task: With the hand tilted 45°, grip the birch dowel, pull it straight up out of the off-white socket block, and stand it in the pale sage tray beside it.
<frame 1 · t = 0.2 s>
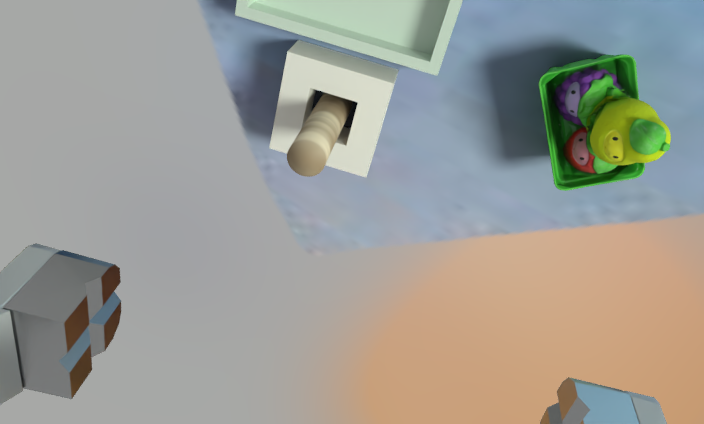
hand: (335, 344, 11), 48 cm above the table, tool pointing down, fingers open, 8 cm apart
dowel: (322, 127, 54), in the socket block
fruit basket: (590, 104, 56), on the table
socket block: (336, 102, 60), on the table
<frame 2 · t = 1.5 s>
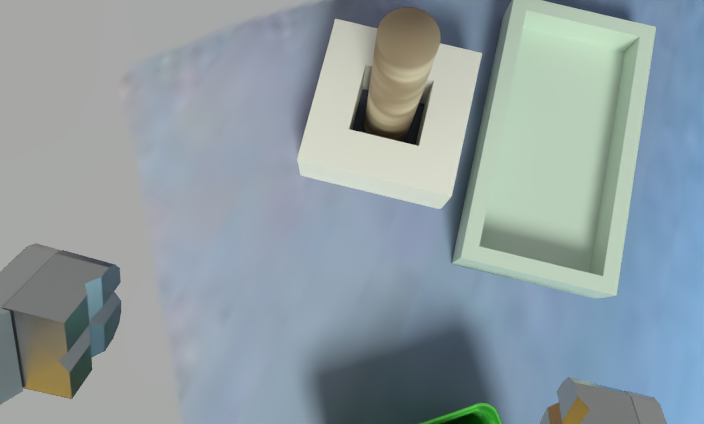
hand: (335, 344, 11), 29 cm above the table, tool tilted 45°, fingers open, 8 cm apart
dowel: (395, 89, 36), in the socket block
socket block: (386, 126, 42), on the table
tray: (547, 150, 42), on the table
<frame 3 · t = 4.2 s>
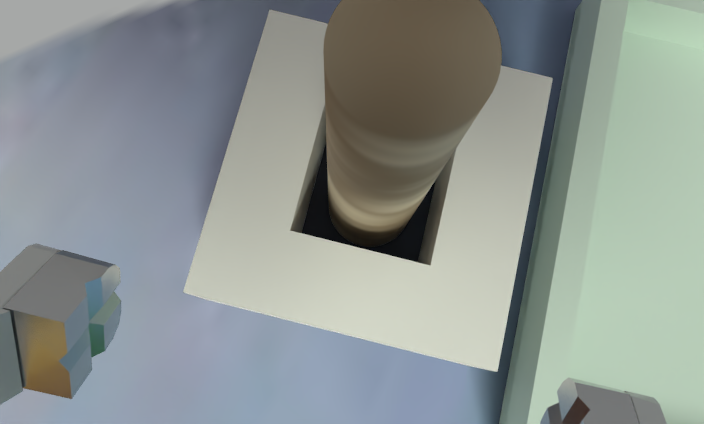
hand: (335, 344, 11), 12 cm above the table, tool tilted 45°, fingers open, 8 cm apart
dowel: (383, 157, 17), in the socket block
socket block: (369, 206, 23), on the table
tray: (661, 253, 23), on the table
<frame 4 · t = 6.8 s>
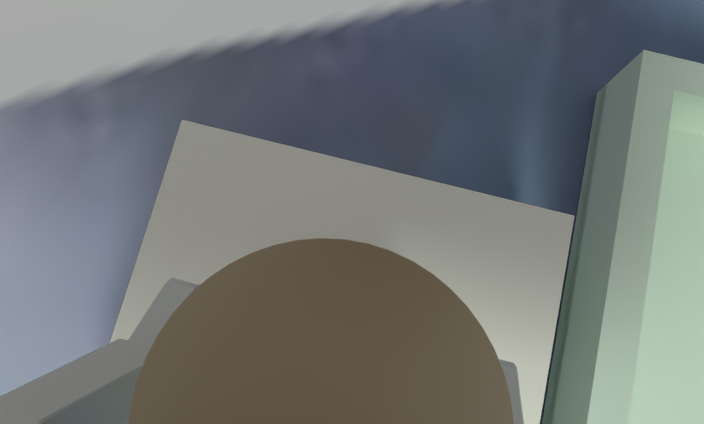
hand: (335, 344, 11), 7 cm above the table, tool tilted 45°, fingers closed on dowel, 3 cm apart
dowel: (326, 377, 11), in the socket block, touching gripper
socket block: (328, 363, 18), on the table
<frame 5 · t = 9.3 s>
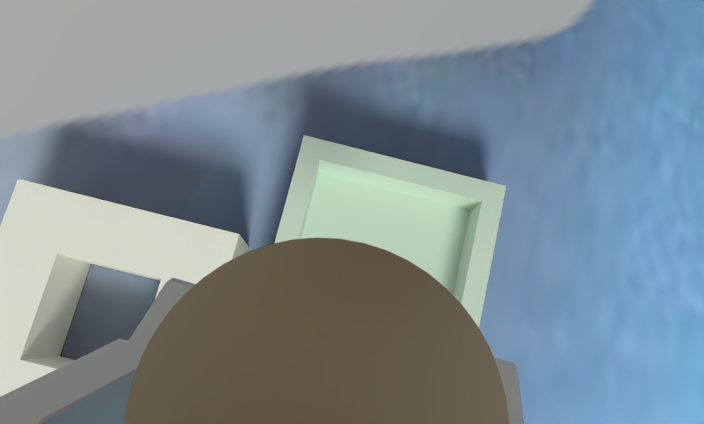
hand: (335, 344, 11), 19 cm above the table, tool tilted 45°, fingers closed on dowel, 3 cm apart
dowel: (325, 377, 11), point 19 cm above the table, touching gripper
socket block: (121, 320, 29), on the table
tray: (354, 356, 30), on the table
when the fingers open (10 cm above the table, at t = 12.2 s): dowel drops 2 cm, resting on tray.
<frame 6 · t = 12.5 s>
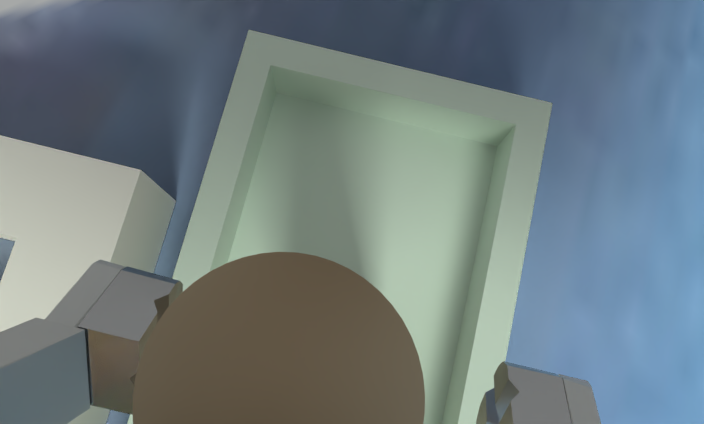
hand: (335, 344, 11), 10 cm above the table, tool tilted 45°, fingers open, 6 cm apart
dowel: (316, 370, 13), in the tray, point 7 cm above the table
tray: (327, 359, 20), on the table
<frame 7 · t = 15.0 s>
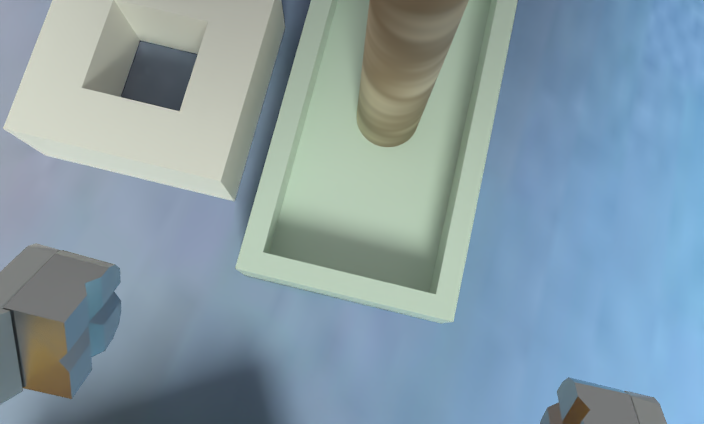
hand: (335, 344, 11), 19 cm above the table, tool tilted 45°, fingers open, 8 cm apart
dowel: (402, 59, 24), in the tray, point 7 cm above the table
socket block: (168, 89, 31), on the table
tray: (385, 122, 32), on the table
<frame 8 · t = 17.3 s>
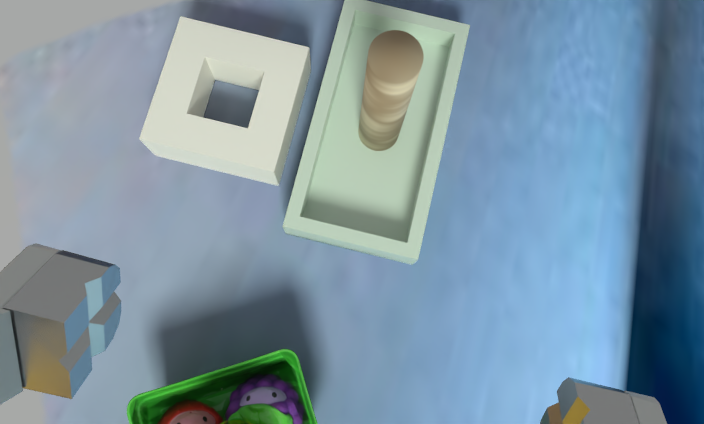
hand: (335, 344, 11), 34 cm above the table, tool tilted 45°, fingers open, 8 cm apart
dowel: (385, 99, 41), in the tray, point 7 cm above the table
socket block: (234, 112, 48), on the table
tray: (377, 134, 48), on the table
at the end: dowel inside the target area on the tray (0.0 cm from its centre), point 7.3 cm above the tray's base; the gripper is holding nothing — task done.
